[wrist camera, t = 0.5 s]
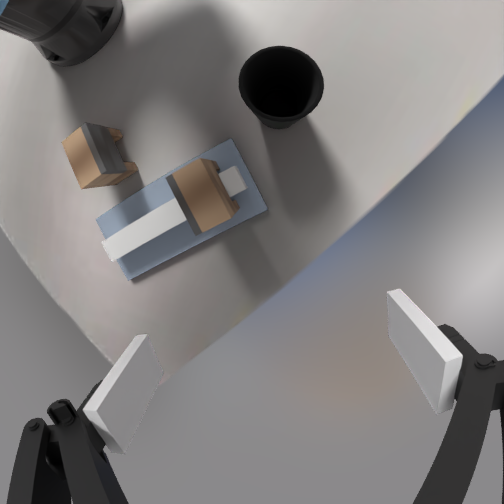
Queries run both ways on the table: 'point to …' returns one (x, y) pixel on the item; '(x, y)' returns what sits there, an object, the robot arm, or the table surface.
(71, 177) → the table surface
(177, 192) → the fixed jaw
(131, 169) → the two-tone tabbed box
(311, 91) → the cup
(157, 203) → the rail
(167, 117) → the table surface
